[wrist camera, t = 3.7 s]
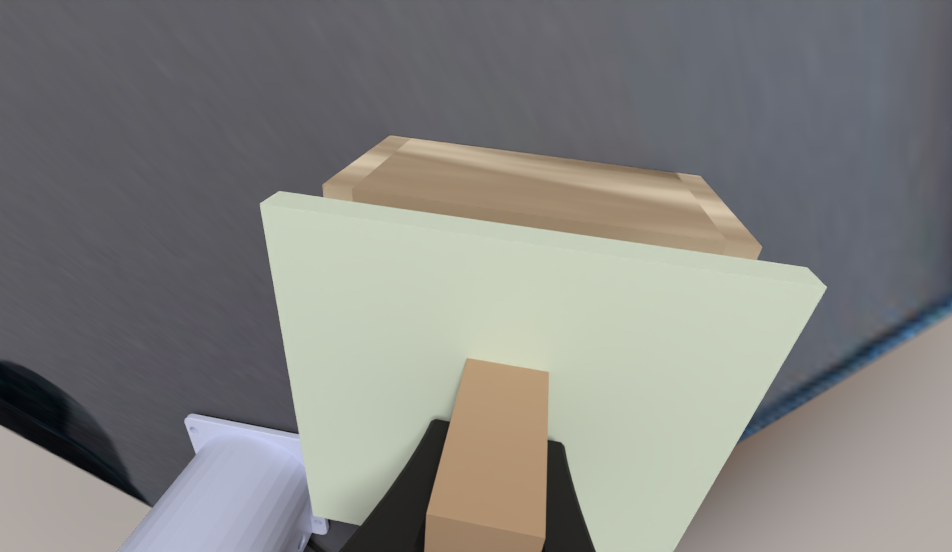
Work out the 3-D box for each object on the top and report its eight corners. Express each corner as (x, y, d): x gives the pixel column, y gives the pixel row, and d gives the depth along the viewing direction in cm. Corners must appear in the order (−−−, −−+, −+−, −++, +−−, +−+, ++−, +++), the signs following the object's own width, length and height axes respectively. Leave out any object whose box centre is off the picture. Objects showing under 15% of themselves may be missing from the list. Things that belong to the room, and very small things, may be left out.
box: (619, 402, 21) (636, 514, 16) (392, 362, 22) (347, 456, 17) (700, 175, 15) (762, 247, 11) (389, 135, 16) (322, 184, 12)
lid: (648, 561, 15) (682, 761, 11) (323, 494, 16) (245, 656, 12) (807, 267, 9) (1003, 465, 5) (279, 190, 10) (97, 307, 6)
